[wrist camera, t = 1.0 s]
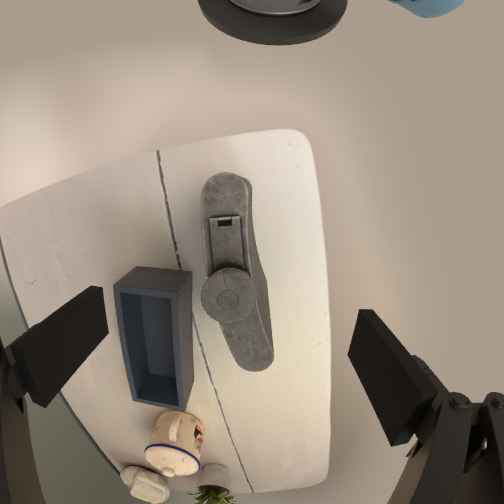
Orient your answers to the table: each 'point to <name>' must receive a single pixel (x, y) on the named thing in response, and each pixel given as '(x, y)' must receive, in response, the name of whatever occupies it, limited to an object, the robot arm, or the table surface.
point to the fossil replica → (145, 484)
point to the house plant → (214, 485)
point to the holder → (157, 335)
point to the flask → (235, 271)
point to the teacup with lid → (176, 444)
